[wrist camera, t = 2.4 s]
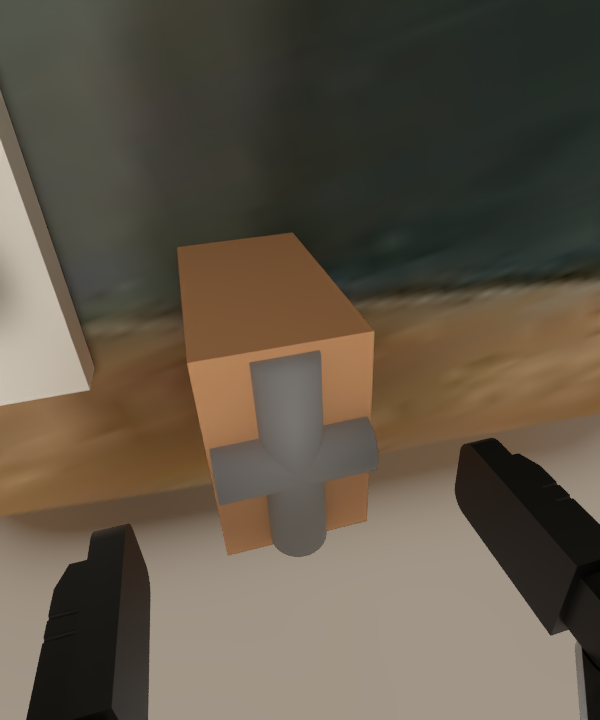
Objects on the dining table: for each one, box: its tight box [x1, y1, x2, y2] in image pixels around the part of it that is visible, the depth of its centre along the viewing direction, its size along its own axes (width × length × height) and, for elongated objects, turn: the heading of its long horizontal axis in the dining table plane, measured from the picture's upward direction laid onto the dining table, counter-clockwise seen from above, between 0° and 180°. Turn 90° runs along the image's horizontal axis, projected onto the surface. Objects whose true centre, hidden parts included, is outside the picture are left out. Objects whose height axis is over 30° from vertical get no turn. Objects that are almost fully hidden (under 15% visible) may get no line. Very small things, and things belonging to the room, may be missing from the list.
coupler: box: [177, 233, 378, 557], centre depth 15 cm, size 6×4×9 cm, turn 2°
